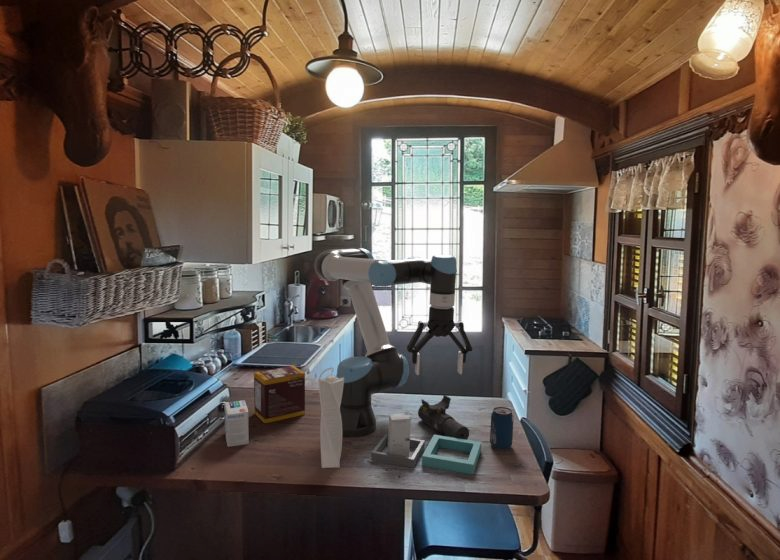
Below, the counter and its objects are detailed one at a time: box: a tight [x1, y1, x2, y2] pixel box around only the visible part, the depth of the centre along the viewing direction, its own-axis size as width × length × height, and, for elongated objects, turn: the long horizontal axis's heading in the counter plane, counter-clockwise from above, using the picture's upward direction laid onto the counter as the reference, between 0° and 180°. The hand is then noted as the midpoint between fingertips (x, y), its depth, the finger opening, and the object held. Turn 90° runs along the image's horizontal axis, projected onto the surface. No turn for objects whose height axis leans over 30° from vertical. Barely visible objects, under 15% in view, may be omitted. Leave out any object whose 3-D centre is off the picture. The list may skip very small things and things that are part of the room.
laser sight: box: [417, 394, 470, 440], centre depth 175 cm, size 10×22×10 cm, turn 30°
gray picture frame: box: [370, 433, 426, 468], centre depth 159 cm, size 13×13×2 cm
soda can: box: [489, 406, 514, 451], centre depth 164 cm, size 7×7×12 cm
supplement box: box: [253, 365, 306, 424], centre depth 186 cm, size 10×15×16 cm
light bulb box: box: [223, 399, 250, 448], centre depth 166 cm, size 11×7×11 cm, turn 22°
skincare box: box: [387, 413, 412, 457], centre depth 158 cm, size 6×4×12 cm
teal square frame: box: [421, 434, 482, 476], centre depth 157 cm, size 15×15×3 cm
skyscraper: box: [317, 366, 344, 469], centre depth 151 cm, size 8×8×28 cm
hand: (438, 373), depth 161 cm, fingers open, 13 cm apart
